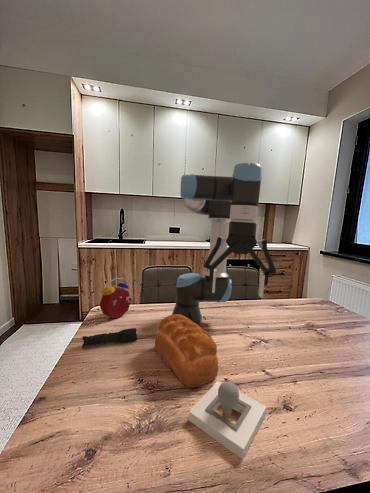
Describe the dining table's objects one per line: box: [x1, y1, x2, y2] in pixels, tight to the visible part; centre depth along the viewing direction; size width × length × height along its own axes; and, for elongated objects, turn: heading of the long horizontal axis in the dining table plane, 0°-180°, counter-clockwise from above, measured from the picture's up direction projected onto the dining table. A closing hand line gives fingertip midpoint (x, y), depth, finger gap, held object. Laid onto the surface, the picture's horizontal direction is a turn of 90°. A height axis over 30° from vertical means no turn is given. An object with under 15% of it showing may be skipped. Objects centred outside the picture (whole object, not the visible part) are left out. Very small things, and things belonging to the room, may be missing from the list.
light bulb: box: [218, 381, 240, 420], centre depth 61 cm, size 5×6×10 cm
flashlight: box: [81, 327, 138, 349], centre depth 93 cm, size 5×21×5 cm, turn 112°
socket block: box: [188, 380, 267, 460], centre depth 62 cm, size 15×15×3 cm
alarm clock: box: [99, 277, 132, 320], centre depth 115 cm, size 15×9×20 cm, turn 144°
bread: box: [154, 314, 219, 388], centre depth 83 cm, size 14×26×16 cm, turn 33°
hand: (236, 293), depth 68 cm, fingers open, 13 cm apart
